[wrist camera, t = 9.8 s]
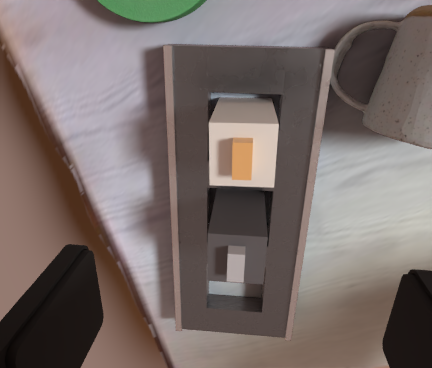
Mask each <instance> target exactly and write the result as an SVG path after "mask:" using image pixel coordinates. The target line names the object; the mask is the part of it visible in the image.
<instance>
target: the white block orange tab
mask: <svg viewBox="0 0 432 368" xmlns="http://www.w3.org/2000/svg"><path fill="white" fill-rule="evenodd" d="M278 129H279V123H278V119H277V116H276V112H275V109H274V105H273V102H272V98H227V97H219V100H218V102H217V104H216V107H215V109H214V112H213V114H212V116H211V119H210V121H209V182H210V185H215V186H243V187H270V188H274V182H275V168H276V155H277V142H278Z"/></svg>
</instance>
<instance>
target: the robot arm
mask: <svg viewBox="0 0 432 368" xmlns="http://www.w3.org/2000/svg"><path fill="white" fill-rule="evenodd" d="M102 323H103V309H102V303H101V296H100V290H99V284H98V278H97V272H96V265H95V259H94V254H93V252H92V251H89V250H88V247H87V246H84V245H72V244H69V245H66V246H65V247H64V248H63V249H62V250H61V252H60V253H59V254H58V255H57V256H56V257H55V259H54V260H53V261H52V262H51V263H50V264H49V266H48V267H47V268H46V269H45V271H43V273H42V274H41V275H40V276H39V277H38V278H37V280H36V281H35V282H34V283H33V284H32V285H31V287H30V288H29V289H28V290H27V291H26V292H25V293H24V295H23V296H22V297H21V298H20V299H19V300H18V302H17V303H16V304H15V305H14V306H13V307H12V308H11V310H10V311H9V312H8V313H7V314H6V315H5V317H4V318H3V319H2V320H1V321H0V368H80V367H81V366H82V364H83V362H84V359H85V358H86V356H87V353H88V352H89V350H90V348H91V346H92V344H93V342H94V340H95V338H96V336H97V334H98V332H99V330H100V328H101V326H102ZM383 351H384V354H385V357H386V359H387V362H388V364H389V367H390V368H432V271H427V270H410V271H409V273H408V274H404V275H403V276H402V278H401V282H400V285H399V288H398V291H397V295H396V298H395V301H394V305H393V308H392V311H391V314H390V318H389V321H388V324H387V328H386V331H385V334H384V337H383Z"/></svg>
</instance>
